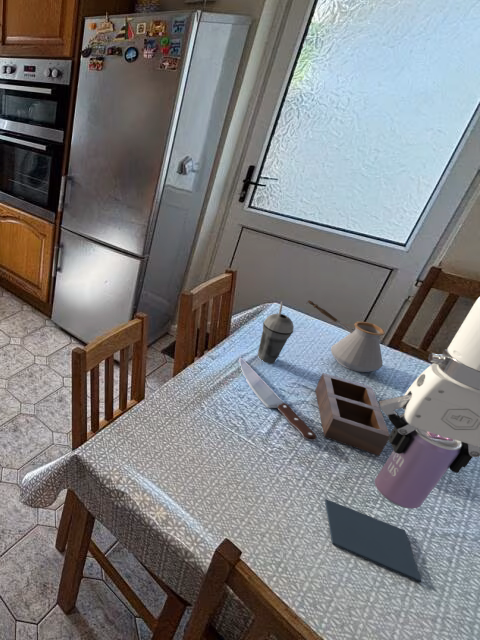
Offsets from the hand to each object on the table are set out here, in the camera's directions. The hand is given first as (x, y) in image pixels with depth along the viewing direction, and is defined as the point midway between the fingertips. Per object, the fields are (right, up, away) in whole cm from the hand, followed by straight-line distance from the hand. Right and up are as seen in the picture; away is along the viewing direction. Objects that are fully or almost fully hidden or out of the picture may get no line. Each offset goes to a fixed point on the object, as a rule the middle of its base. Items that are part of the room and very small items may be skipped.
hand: (422, 455), depth 68 cm
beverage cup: (+15, +2, +57) cm, 59 cm away
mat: (0, -20, +10) cm, 22 cm away
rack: (+19, -8, +35) cm, 41 cm away
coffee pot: (+36, +3, +58) cm, 68 cm away
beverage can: (0, -9, +4) cm, 10 cm away
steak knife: (+6, -5, +43) cm, 43 cm away
